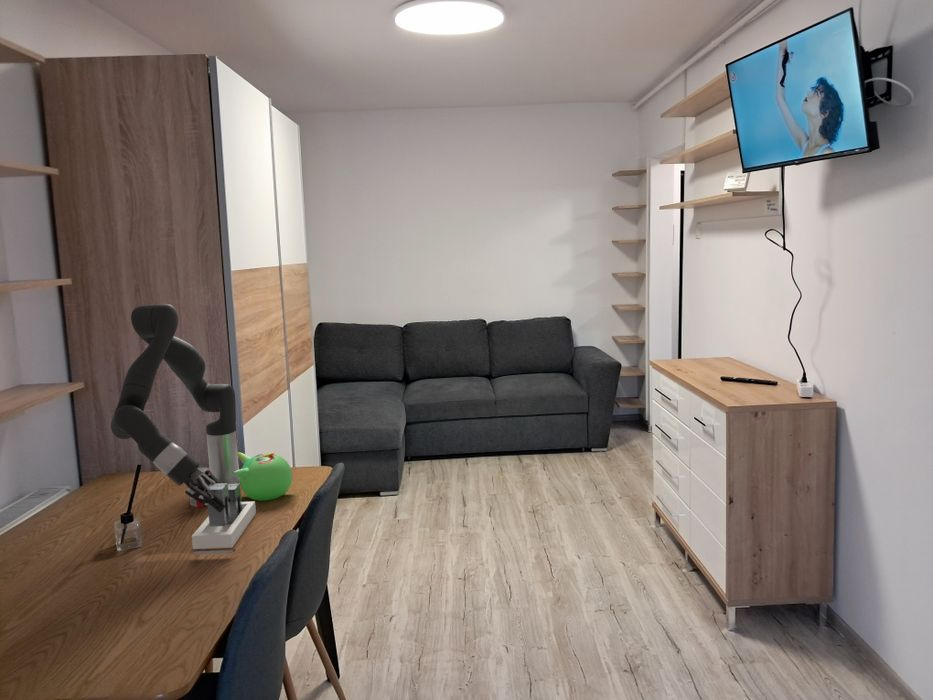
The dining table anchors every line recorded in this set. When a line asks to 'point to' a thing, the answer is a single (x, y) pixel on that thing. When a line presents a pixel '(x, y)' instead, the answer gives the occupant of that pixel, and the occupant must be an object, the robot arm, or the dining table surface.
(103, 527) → the dining table surface
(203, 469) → the soda can
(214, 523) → the clip
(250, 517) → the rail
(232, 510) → the gray rectangular block
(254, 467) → the toy bird
